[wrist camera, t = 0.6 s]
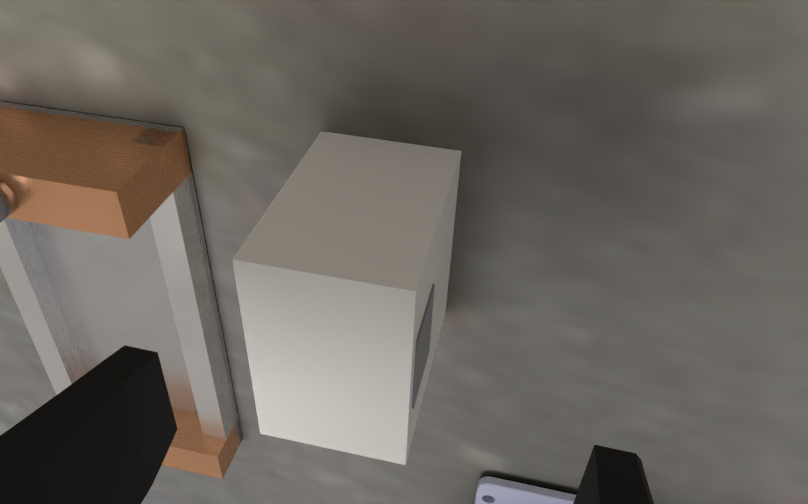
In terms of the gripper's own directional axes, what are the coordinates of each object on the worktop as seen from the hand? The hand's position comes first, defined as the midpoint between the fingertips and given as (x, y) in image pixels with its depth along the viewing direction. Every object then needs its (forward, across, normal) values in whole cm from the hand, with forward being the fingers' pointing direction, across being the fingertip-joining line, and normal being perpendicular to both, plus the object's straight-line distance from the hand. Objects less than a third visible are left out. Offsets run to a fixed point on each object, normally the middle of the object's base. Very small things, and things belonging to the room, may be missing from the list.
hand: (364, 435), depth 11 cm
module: (+10, +2, +3) cm, 10 cm away
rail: (+10, +12, +8) cm, 17 cm away
